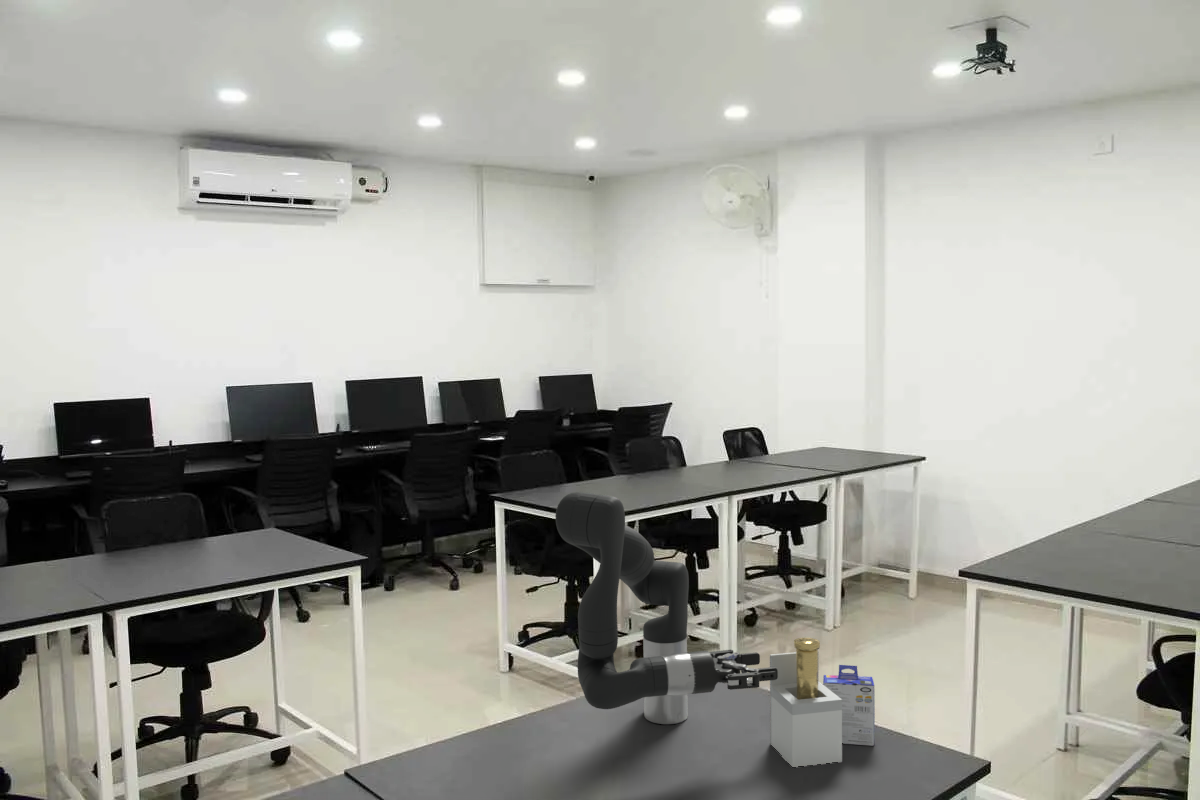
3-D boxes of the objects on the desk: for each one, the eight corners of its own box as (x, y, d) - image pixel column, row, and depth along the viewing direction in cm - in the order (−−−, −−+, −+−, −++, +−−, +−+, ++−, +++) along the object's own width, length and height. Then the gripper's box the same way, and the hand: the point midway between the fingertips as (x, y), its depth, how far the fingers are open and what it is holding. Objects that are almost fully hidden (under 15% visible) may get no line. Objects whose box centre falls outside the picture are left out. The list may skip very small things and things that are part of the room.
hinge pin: (790, 699, 180) (790, 638, 179) (814, 697, 181) (813, 636, 180) (800, 709, 175) (800, 646, 174) (824, 706, 176) (824, 644, 175)
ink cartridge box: (873, 735, 187) (873, 664, 186) (875, 747, 181) (875, 674, 180) (822, 732, 189) (822, 662, 188) (823, 743, 183) (823, 671, 182)
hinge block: (770, 744, 183) (769, 654, 182) (817, 739, 185) (817, 650, 184) (792, 767, 173) (792, 672, 172) (842, 762, 175) (842, 668, 174)
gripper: (698, 666, 165) (783, 658, 169) (674, 641, 179) (753, 634, 183) (699, 707, 166) (783, 698, 169) (674, 679, 180) (753, 672, 183)
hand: (767, 665), depth 176 cm, fingers open, 8 cm apart
